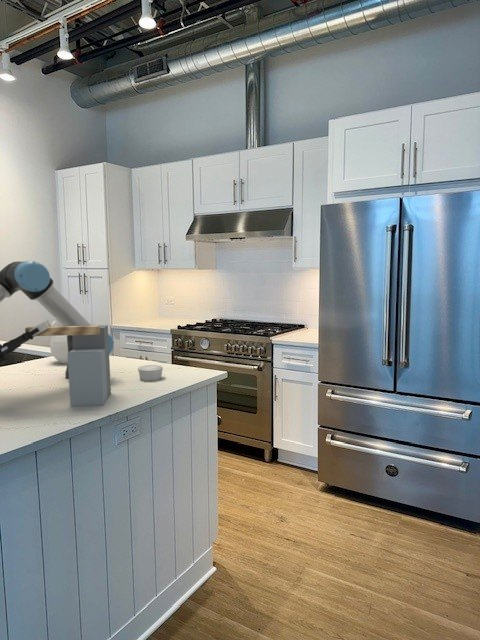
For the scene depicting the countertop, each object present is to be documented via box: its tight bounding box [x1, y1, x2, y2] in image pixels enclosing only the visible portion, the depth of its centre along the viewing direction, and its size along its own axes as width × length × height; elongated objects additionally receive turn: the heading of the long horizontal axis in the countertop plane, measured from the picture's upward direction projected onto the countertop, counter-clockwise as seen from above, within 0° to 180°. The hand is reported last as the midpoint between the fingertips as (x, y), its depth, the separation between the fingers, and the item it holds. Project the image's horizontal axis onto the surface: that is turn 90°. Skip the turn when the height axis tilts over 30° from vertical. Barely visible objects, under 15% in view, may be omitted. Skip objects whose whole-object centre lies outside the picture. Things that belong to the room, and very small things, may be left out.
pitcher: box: [49, 316, 68, 365], centre depth 248 cm, size 19×18×25 cm
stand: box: [67, 324, 112, 407], centre depth 178 cm, size 12×16×28 cm
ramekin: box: [137, 364, 163, 382], centre depth 211 cm, size 11×11×5 cm
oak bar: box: [24, 325, 100, 337], centre depth 171 cm, size 26×3×3 cm, turn 96°
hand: (48, 323), depth 171 cm, fingers closed on oak bar, 3 cm apart
